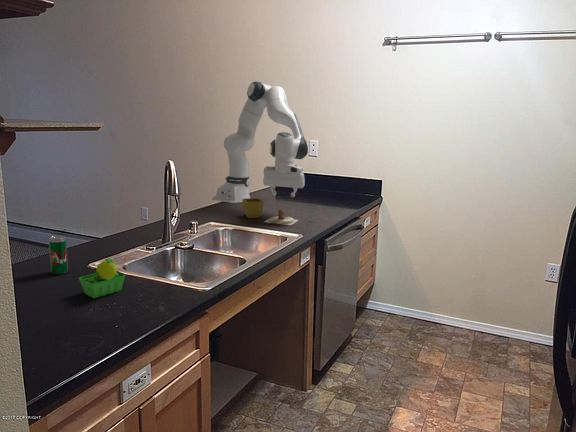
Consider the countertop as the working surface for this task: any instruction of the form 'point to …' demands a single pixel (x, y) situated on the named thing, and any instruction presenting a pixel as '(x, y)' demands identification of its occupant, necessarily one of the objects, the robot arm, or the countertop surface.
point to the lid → (281, 218)
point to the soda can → (58, 255)
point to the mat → (284, 224)
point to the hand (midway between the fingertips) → (283, 195)
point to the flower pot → (253, 207)
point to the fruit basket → (103, 280)
